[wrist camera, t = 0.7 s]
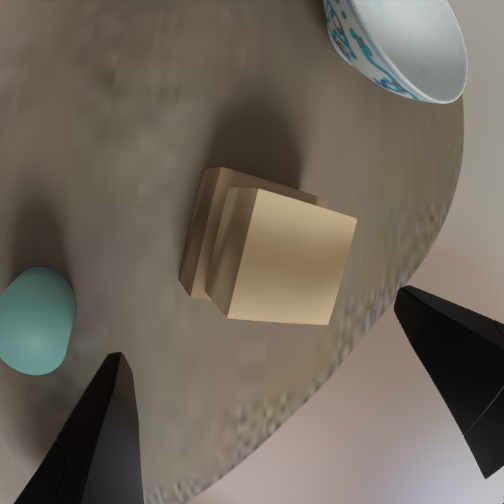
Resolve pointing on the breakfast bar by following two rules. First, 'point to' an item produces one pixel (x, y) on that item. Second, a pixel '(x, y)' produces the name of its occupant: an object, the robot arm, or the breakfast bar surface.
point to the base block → (209, 221)
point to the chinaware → (402, 45)
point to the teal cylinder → (36, 321)
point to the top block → (278, 258)
